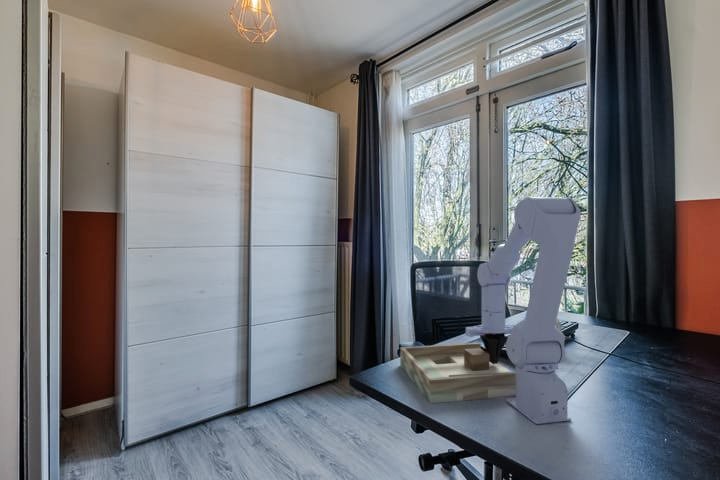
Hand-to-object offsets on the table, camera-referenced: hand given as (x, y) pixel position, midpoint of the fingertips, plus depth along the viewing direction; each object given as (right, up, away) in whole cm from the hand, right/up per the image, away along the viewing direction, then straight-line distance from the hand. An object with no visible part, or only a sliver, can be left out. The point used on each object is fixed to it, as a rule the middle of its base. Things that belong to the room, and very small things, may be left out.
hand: (493, 362), depth 86 cm
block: (-5, -1, -1) cm, 5 cm away
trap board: (-10, -3, -2) cm, 10 cm away
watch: (+26, -4, +20) cm, 33 cm away
